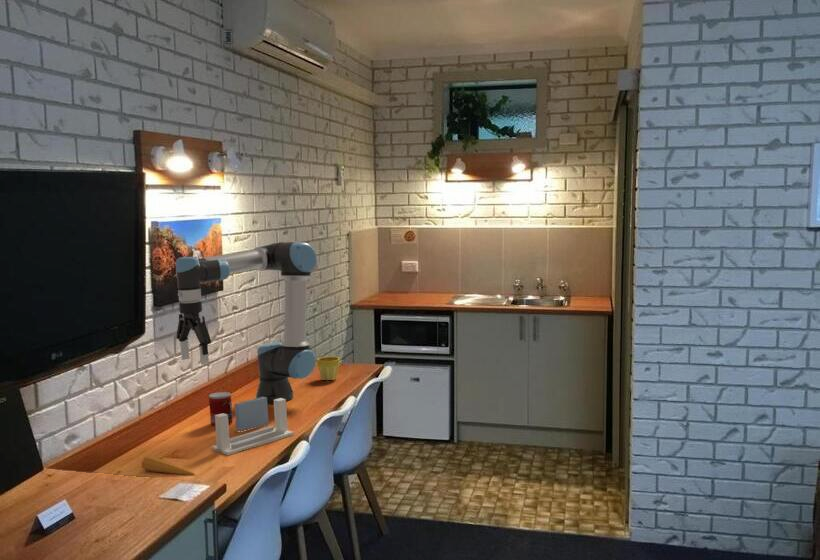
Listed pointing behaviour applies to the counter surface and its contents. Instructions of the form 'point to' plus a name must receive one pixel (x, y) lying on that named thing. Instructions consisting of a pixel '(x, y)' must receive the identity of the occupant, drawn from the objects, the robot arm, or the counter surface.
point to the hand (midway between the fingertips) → (195, 361)
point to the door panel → (251, 414)
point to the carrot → (162, 466)
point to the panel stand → (252, 438)
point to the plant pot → (328, 367)
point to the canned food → (220, 405)
